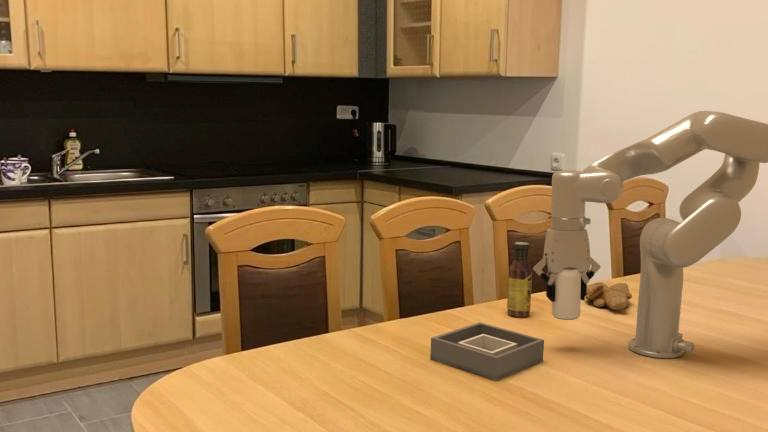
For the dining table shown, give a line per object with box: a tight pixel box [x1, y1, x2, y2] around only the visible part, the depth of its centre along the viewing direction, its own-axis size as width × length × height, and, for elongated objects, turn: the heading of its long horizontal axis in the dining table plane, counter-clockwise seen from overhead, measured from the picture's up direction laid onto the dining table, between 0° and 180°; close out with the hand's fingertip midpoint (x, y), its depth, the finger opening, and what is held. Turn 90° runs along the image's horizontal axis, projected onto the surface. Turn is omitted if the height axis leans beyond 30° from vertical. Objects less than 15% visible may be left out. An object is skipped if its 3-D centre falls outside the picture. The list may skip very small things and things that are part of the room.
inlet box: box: [429, 321, 545, 382], centre depth 177 cm, size 18×18×5 cm
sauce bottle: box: [506, 241, 533, 318], centre depth 212 cm, size 7×6×20 cm
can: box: [551, 268, 582, 321], centre depth 184 cm, size 6×6×12 cm
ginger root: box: [585, 281, 633, 311], centre depth 226 cm, size 16×16×8 cm
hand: (566, 298), depth 184 cm, fingers closed on can, 6 cm apart
